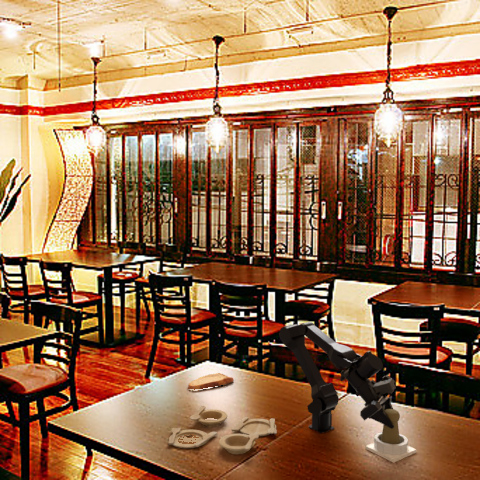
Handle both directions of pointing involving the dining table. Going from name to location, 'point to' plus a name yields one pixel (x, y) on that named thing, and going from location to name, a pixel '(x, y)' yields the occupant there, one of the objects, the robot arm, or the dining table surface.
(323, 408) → the robot arm
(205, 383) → the bread slice
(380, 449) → the guard dock
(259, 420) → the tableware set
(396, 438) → the cork
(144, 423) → the dining table surface
